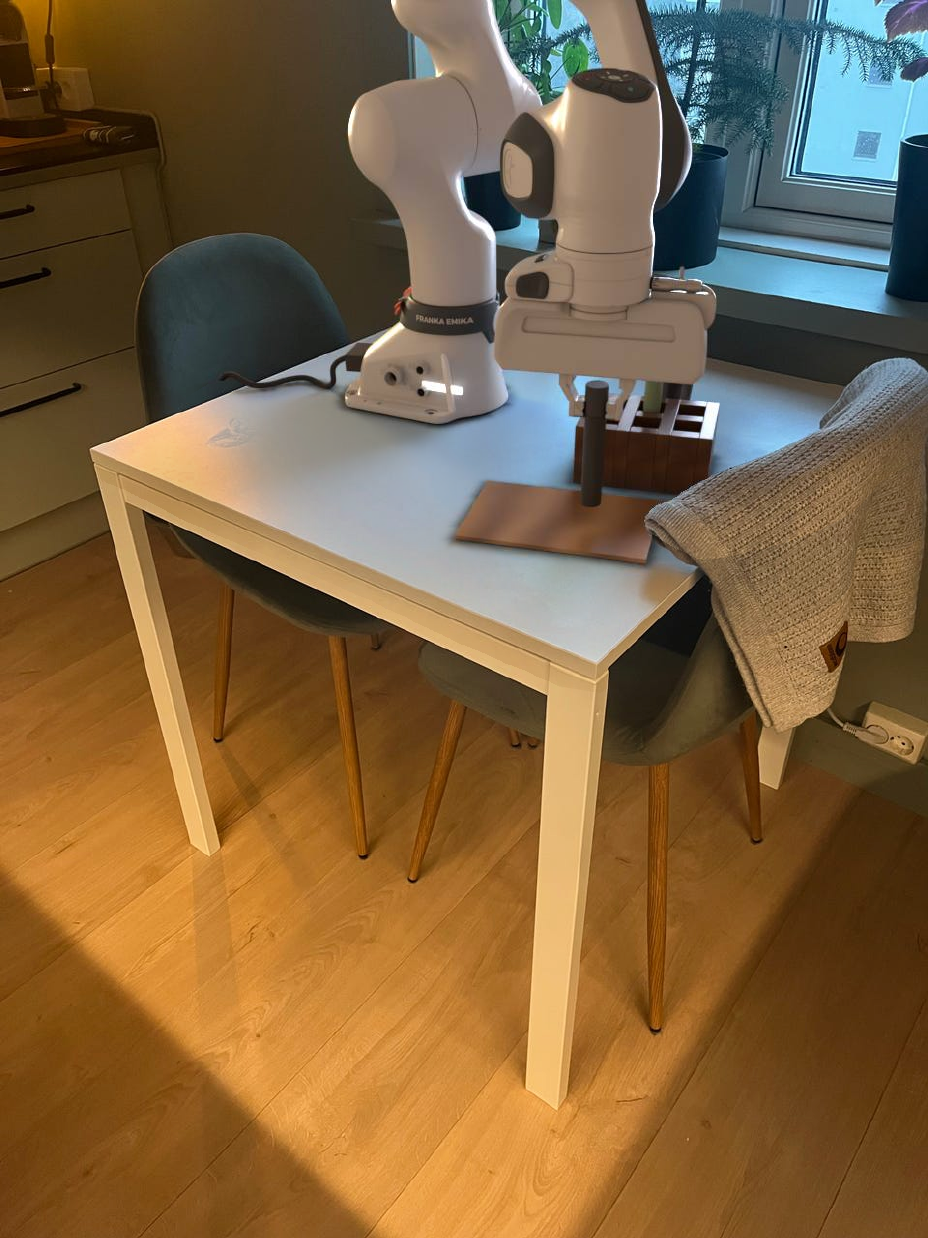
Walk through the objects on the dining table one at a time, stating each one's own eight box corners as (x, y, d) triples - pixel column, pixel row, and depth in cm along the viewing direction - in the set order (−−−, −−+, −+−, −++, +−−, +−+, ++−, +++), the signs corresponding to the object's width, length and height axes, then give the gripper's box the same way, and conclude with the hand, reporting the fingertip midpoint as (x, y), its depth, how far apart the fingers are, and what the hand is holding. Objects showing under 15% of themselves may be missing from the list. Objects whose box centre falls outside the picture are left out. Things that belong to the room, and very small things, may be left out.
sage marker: (636, 464, 114) (645, 365, 107) (639, 457, 116) (647, 358, 109) (654, 466, 114) (664, 367, 107) (656, 458, 115) (666, 360, 108)
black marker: (577, 506, 100) (583, 387, 93) (581, 496, 102) (587, 378, 95) (599, 508, 100) (607, 389, 92) (603, 498, 102) (610, 380, 94)
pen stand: (572, 482, 111) (575, 426, 107) (589, 445, 119) (592, 391, 115) (705, 497, 107) (712, 439, 103) (712, 457, 115) (720, 402, 111)
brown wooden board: (454, 539, 101) (454, 535, 101) (487, 484, 111) (487, 480, 111) (645, 564, 96) (645, 559, 96) (661, 504, 106) (661, 500, 106)
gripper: (721, 271, 88) (704, 413, 95) (505, 260, 93) (505, 396, 101) (716, 290, 83) (698, 439, 91) (488, 278, 88) (489, 419, 96)
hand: (595, 416), depth 96 cm, fingers closed on black marker, 2 cm apart
